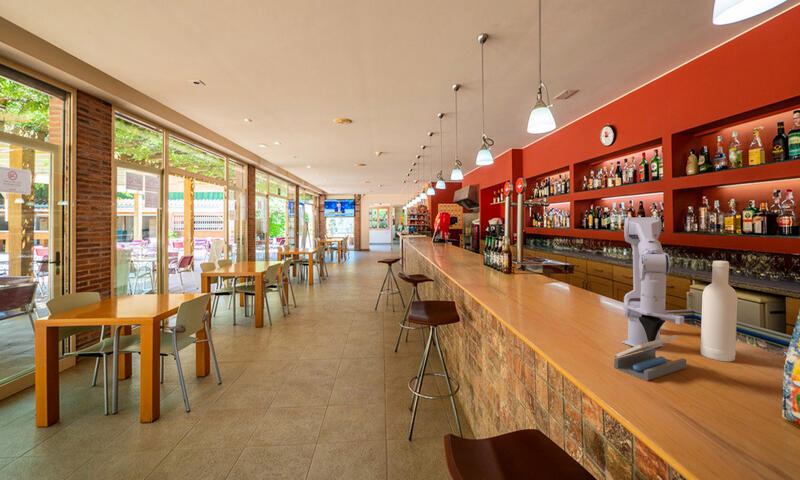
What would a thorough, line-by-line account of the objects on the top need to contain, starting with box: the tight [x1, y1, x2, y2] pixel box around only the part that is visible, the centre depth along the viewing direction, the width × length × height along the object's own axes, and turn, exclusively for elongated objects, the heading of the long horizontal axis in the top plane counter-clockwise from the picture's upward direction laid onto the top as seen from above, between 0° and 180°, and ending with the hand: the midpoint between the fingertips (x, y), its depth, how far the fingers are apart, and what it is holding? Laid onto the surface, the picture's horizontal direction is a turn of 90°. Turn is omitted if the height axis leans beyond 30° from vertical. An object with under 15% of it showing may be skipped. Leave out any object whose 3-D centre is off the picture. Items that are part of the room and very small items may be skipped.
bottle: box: [699, 260, 739, 363], centre depth 102 cm, size 8×8×30 cm
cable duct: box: [613, 348, 687, 382], centre depth 96 cm, size 18×9×3 cm, turn 113°
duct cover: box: [613, 334, 679, 359], centre depth 97 cm, size 17×9×1 cm
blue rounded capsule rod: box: [633, 355, 667, 371], centre depth 95 cm, size 13×2×2 cm, turn 113°
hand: (651, 341), depth 95 cm, fingers closed, pressing on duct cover
